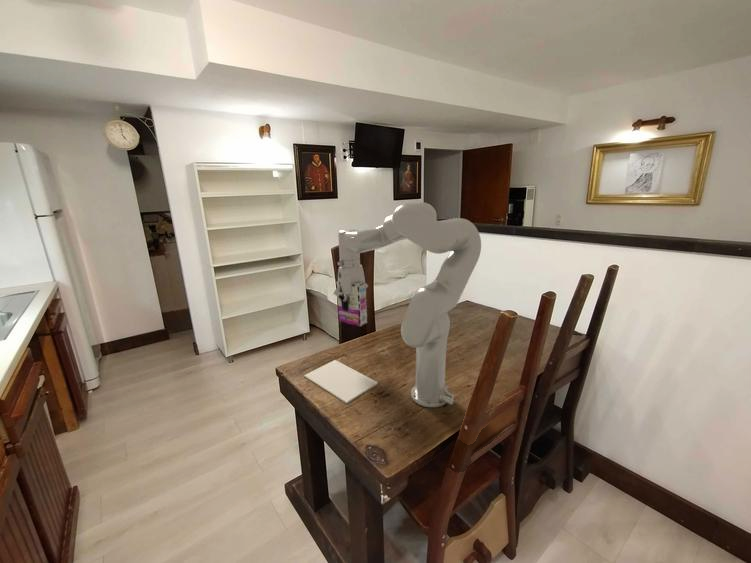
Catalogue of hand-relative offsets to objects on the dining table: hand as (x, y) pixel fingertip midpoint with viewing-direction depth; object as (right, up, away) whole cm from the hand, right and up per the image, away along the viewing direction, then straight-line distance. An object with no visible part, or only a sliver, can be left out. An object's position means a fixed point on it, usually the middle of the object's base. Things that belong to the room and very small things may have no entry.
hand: (352, 307), depth 126 cm
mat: (-4, -26, -6) cm, 27 cm away
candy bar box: (0, -6, +2) cm, 6 cm away
